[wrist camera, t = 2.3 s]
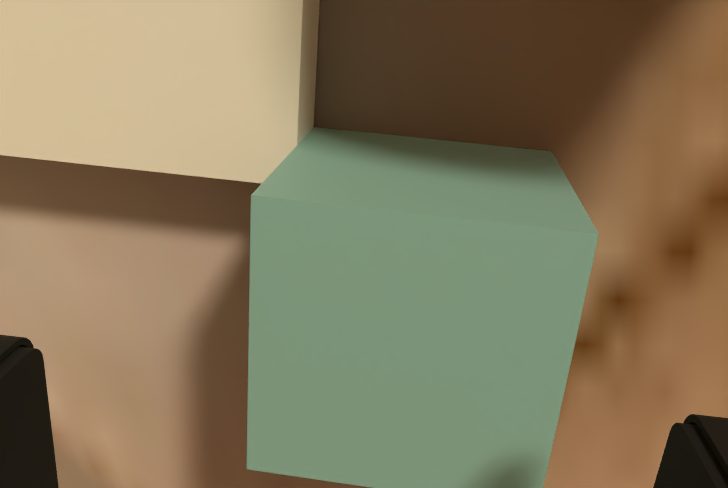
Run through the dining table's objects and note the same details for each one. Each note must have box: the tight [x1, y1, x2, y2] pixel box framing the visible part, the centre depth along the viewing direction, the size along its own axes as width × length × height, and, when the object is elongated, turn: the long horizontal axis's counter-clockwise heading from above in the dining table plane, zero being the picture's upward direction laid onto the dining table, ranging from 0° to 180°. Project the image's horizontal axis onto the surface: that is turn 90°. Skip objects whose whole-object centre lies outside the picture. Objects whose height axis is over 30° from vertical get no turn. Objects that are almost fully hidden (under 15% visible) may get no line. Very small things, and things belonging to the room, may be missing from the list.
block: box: [247, 127, 599, 488], centre depth 16 cm, size 6×6×6 cm
